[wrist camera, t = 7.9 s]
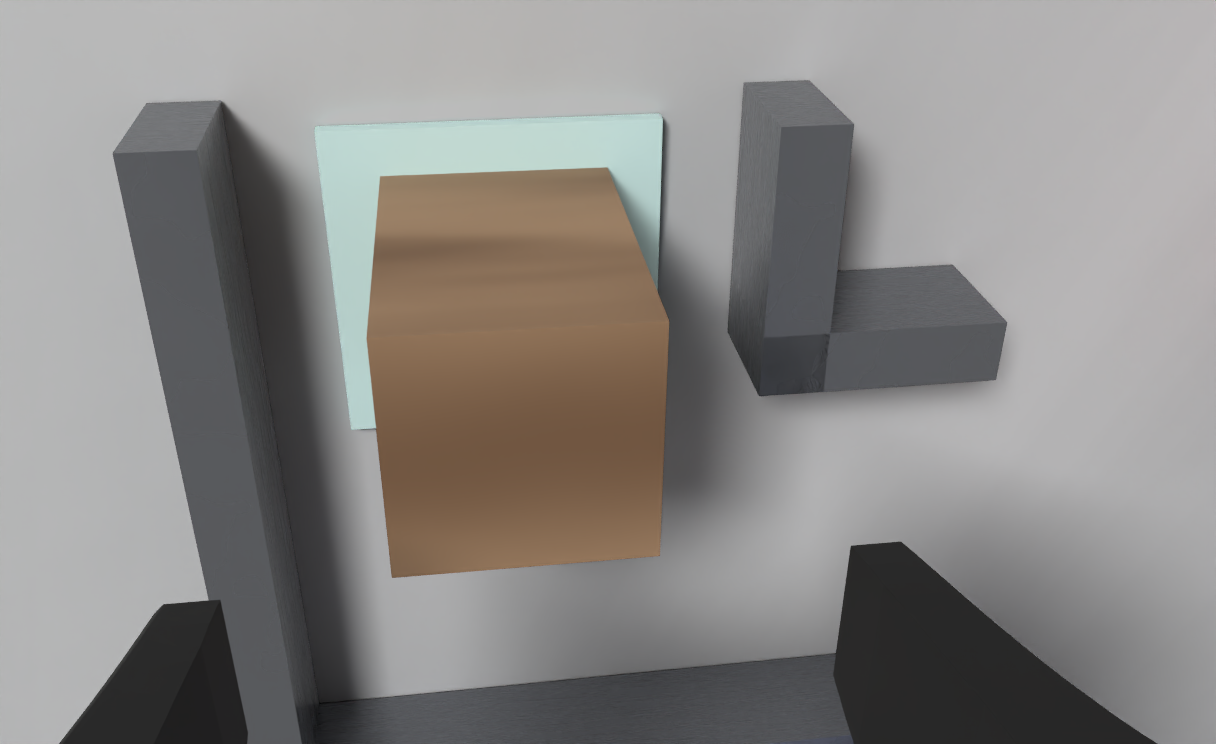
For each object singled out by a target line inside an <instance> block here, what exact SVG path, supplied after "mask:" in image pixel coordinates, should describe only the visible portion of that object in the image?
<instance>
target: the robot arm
mask: <svg viewBox="0 0 1216 744" xmlns="http://www.w3.org/2000/svg"><path fill="white" fill-rule="evenodd" d="M833 676H834V680H835V683H836V687H837V690H838V693H839V697H840V700H841V704H842V707H843V711H844V714H845V718H846V721H847V724H848V727H849V730H850V733H851V737H852V740H853V743H854V744H1157V743H1155V742H1154V741H1152V740H1151V739H1149V738H1147V737H1146V736H1144V735H1143V734H1141V733H1140V732H1138V731H1137V730H1135V729H1134V728H1132V727H1131V726H1129V725H1128V724H1126V723H1125V722H1123V721H1122V720H1120V719H1119V718H1118V717H1116V716H1115V715H1113V714H1112V713H1110V712H1109V711H1108V710H1106V709H1105V708H1103V707H1102V706H1101V705H1099V704H1098V703H1097V702H1095V701H1094V700H1093V699H1091V698H1090V697H1089V696H1087V695H1086V694H1084V693H1083V692H1082V691H1080V690H1079V689H1078V688H1076V687H1075V686H1074V685H1072V684H1071V683H1069V682H1068V681H1067V680H1065V679H1064V678H1063V677H1061V676H1060V675H1059V674H1058V673H1056V672H1055V671H1054V670H1052V669H1051V668H1050V667H1049V666H1047V665H1046V664H1045V663H1043V662H1042V661H1041V660H1040V659H1038V658H1037V657H1036V656H1035V655H1033V654H1032V653H1031V652H1030V651H1028V650H1027V649H1026V648H1025V647H1023V646H1022V645H1021V644H1020V643H1019V642H1017V641H1016V640H1015V639H1014V638H1013V637H1011V636H1010V635H1009V634H1008V633H1006V632H1005V631H1004V630H1003V629H1002V628H1000V627H999V626H998V625H997V624H996V623H995V622H993V621H992V620H991V619H990V618H989V617H987V616H986V615H985V614H984V613H983V612H982V611H980V610H979V609H978V608H977V607H976V606H975V605H973V604H972V603H971V602H970V601H969V600H968V599H967V598H965V597H964V596H963V595H962V594H961V593H960V592H958V591H957V590H956V589H955V588H954V587H953V586H952V585H950V584H949V583H948V582H947V581H946V580H945V579H944V578H942V577H941V576H940V575H939V574H938V573H937V572H936V571H934V570H933V569H932V568H931V567H930V566H929V565H928V564H926V563H925V562H924V561H923V560H922V559H921V558H920V557H918V556H917V555H916V554H915V553H914V552H913V551H911V550H910V549H909V548H908V547H907V546H905V545H904V544H903V543H902V542H891V543H879V544H867V545H856V546H851V549H850V556H849V564H848V571H847V578H846V585H845V592H844V600H843V607H842V614H841V621H840V628H839V636H838V643H837V650H836V657H835V665H834V672H833ZM247 740H248V730H247V725H246V720H245V715H244V711H243V706H242V701H241V696H240V691H239V687H238V682H237V677H236V672H235V667H234V663H233V658H232V653H231V648H230V643H229V639H228V634H227V629H226V624H225V619H224V615H223V610H222V605H221V600H210V601H199V602H187V603H175V604H163V605H162V606H161V607H160V608H159V609H158V610H157V612H156V613H155V614H154V615H153V616H152V618H151V619H150V621H149V622H148V624H147V625H146V626H145V628H144V629H143V631H142V632H141V634H140V635H139V637H138V638H137V639H136V641H135V642H134V644H133V645H132V647H131V648H130V649H129V651H128V652H127V654H126V655H125V657H124V658H123V659H122V661H121V662H120V664H119V665H118V666H117V668H116V669H115V671H114V672H113V673H112V675H111V676H110V677H109V679H108V680H107V682H106V683H105V684H104V686H103V687H102V688H101V690H100V691H99V692H98V694H97V695H96V697H95V698H94V699H93V701H92V702H91V703H90V705H89V706H88V707H87V708H86V710H85V711H84V712H83V714H82V715H81V716H80V717H79V719H78V720H77V721H76V723H75V724H74V725H73V727H72V728H71V729H70V730H69V732H68V733H67V734H66V736H65V737H64V738H63V739H62V741H61V742H60V743H59V744H247Z"/></svg>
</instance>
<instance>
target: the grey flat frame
mask: <svg viewBox="0 0 1216 744" xmlns="http://www.w3.org/2000/svg"><path fill="white" fill-rule="evenodd" d="M853 130H854V124H853V123H852V122H851V121H850V120H849V119H848V118H847V117H846V116H845V115H844V114H843V113H842V112H841V111H840V110H839V109H838V108H837V107H836V106H835V105H834V104H833V103H832V102H831V101H830V100H829V99H828V98H827V97H826V96H825V95H824V94H823V93H822V92H821V91H820V90H819V89H818V88H817V87H815V86H814V85H813V84H812V83H811V82H810V81H781V82H752V83H744V88H743V103H742V119H741V134H740V150H739V165H738V180H737V196H736V211H735V227H734V242H733V258H732V273H731V288H730V304H729V319H728V333H729V335H730V337H731V340H732V342H733V344H734V346H735V348H736V350H737V352H738V354H739V356H740V358H741V360H742V362H743V364H744V366H745V368H746V370H747V372H748V374H749V376H750V378H751V381H752V383H753V385H754V387H755V389H756V391H757V393H758V395H759V396H769V395H784V394H798V393H813V392H827V391H842V390H857V389H871V388H886V387H900V386H915V385H930V384H944V383H959V382H973V381H988V380H996V376H997V371H998V366H999V361H1000V356H1001V351H1002V346H1003V341H1004V336H1005V331H1006V326H1007V322H1006V321H1005V320H1004V318H1003V317H1002V316H1001V315H1000V314H999V313H998V312H997V311H996V310H995V309H994V308H993V307H992V306H991V305H990V304H989V303H988V302H987V301H986V299H985V298H984V297H983V296H982V295H981V294H980V293H979V292H978V291H977V290H976V289H975V288H974V287H973V286H972V285H971V284H970V283H969V281H968V280H967V279H966V278H965V277H964V276H963V275H962V274H961V273H960V272H959V271H958V270H957V269H956V268H955V267H954V266H953V265H939V266H921V267H903V268H885V269H867V270H849V271H837V269H838V261H839V252H840V243H841V234H842V226H843V217H844V208H845V200H846V191H847V182H848V173H849V165H850V156H851V147H852V138H853ZM113 157H114V162H115V167H116V171H117V176H118V181H119V185H120V190H121V194H122V199H123V204H124V208H125V213H126V218H127V222H128V227H129V232H130V236H131V241H132V246H133V250H134V255H135V260H136V264H137V269H138V273H139V278H140V283H141V287H142V292H143V297H144V301H145V306H146V311H147V315H148V320H149V325H150V329H151V334H152V339H153V343H154V348H155V352H156V357H157V362H158V366H159V371H160V376H161V380H162V385H163V390H164V394H165V399H166V404H167V408H168V413H169V418H170V422H171V427H172V431H173V436H174V441H175V445H176V450H177V455H178V459H179V464H180V469H181V473H182V478H183V483H184V487H185V492H186V497H187V501H188V506H189V510H190V515H191V520H192V524H193V529H194V534H195V538H196V543H197V548H198V552H199V557H200V562H201V566H202V571H203V575H204V580H205V585H206V589H207V594H208V599H209V601H210V600H221V605H222V610H223V615H224V619H225V624H226V629H227V634H228V639H229V643H230V648H231V653H232V658H233V663H234V667H235V672H236V677H237V682H238V687H239V691H240V696H241V701H242V706H243V711H244V715H245V720H246V725H247V730H248V740H247V744H854V743H853V740H852V737H851V733H850V730H849V727H848V724H847V721H846V718H845V714H844V711H843V707H842V704H841V700H840V697H839V693H838V690H837V687H836V683H835V680H834V676H833V672H834V665H835V657H836V654H830V655H819V656H809V657H799V658H789V659H778V660H768V661H758V662H747V663H737V664H727V665H717V666H706V667H696V668H686V669H676V670H665V671H655V672H645V673H634V674H624V675H614V676H604V677H593V678H583V679H573V680H563V681H552V682H542V683H532V684H521V685H511V686H501V687H491V688H480V689H470V690H460V691H449V692H439V693H429V694H419V695H408V696H398V697H388V698H378V699H367V700H357V701H347V702H336V703H326V704H319V700H318V693H317V687H316V681H315V675H314V669H313V663H312V657H311V650H310V644H309V638H308V632H307V626H306V620H305V614H304V608H303V601H302V595H301V589H300V583H299V577H298V571H297V565H296V558H295V552H294V546H293V540H292V534H291V528H290V522H289V516H288V509H287V503H286V497H285V491H284V485H283V479H282V473H281V466H280V460H279V454H278V448H277V442H276V436H275V430H274V424H273V417H272V411H271V405H270V399H269V393H268V387H267V381H266V374H265V368H264V362H263V356H262V350H261V344H260V338H259V331H258V325H257V319H256V313H255V307H254V301H253V295H252V289H251V282H250V276H249V270H248V264H247V258H246V252H245V246H244V239H243V233H242V227H241V221H240V215H239V209H238V203H237V197H236V190H235V184H234V178H233V172H232V166H231V160H230V154H229V147H228V141H227V135H226V129H225V123H224V117H223V111H222V105H221V101H198V102H169V103H146V105H145V106H144V108H143V109H142V111H141V112H140V114H139V115H138V117H137V118H136V120H135V121H134V123H133V124H132V126H131V127H130V129H129V130H128V131H127V133H126V134H125V136H124V137H123V139H122V140H121V142H120V143H119V145H118V146H117V148H116V149H115V151H114V152H113Z"/></svg>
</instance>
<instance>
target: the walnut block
mask: <svg viewBox="0 0 1216 744" xmlns="http://www.w3.org/2000/svg"><path fill="white" fill-rule="evenodd" d="M366 339H367V348H368V358H369V367H370V376H371V386H372V395H373V405H374V414H375V423H376V433H377V442H378V452H379V461H380V471H381V480H382V489H383V499H384V508H385V518H386V527H387V537H388V546H389V555H390V565H391V574H392V578H396V577H408V576H421V575H433V574H445V573H457V572H470V571H482V570H494V569H506V568H519V567H531V566H543V565H555V564H567V563H580V562H592V561H604V560H616V559H629V558H641V557H653V556H660V537H661V513H662V488H663V464H664V440H665V415H666V391H667V366H668V342H669V319H668V317H667V314H666V312H665V309H664V307H663V304H662V302H661V299H660V297H659V294H658V292H657V289H656V287H655V284H654V282H653V279H652V277H651V274H650V272H649V269H648V267H647V264H646V262H645V259H644V257H643V254H642V252H641V249H640V247H639V244H638V242H637V239H636V237H635V235H634V232H633V230H632V227H631V225H630V222H629V220H628V217H627V215H626V212H625V210H624V207H623V205H622V202H621V200H620V197H619V195H618V192H617V190H616V187H615V185H614V182H613V180H612V177H611V175H610V172H609V170H608V167H604V168H578V169H552V170H526V171H501V172H475V173H449V174H424V175H398V176H380V183H379V194H378V206H377V218H376V230H375V242H374V254H373V266H372V278H371V290H370V302H369V314H368V325H367V337H366Z"/></svg>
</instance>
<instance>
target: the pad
mask: <svg viewBox="0 0 1216 744" xmlns="http://www.w3.org/2000/svg"><path fill="white" fill-rule="evenodd" d="M662 129H663V118H662V116H661V115H660V113H657V114H631V115H604V116H577V117H550V118H523V119H497V120H470V121H443V122H416V123H390V124H363V125H336V126H316V127H315V131H314V134H315V142H316V150H317V158H318V166H319V174H320V182H321V190H322V198H323V206H324V214H325V222H326V230H327V238H328V246H329V255H330V263H331V271H332V279H333V287H334V295H335V303H336V311H337V319H338V327H339V335H340V343H341V351H342V359H343V368H344V376H345V384H346V392H347V400H348V408H349V416H350V424H351V430H356V429H370V428H376V423H375V414H374V405H373V395H372V386H371V376H370V367H369V358H368V348H367V339H366V337H367V325H368V314H369V302H370V290H371V278H372V266H373V254H374V242H375V230H376V218H377V206H378V194H379V183H380V176H398V175H424V174H449V173H475V172H501V171H526V170H552V169H578V168H604V167H608V170H609V172H610V175H611V177H612V180H613V182H614V185H615V187H616V190H617V192H618V195H619V197H620V200H621V202H622V205H623V207H624V210H625V212H626V215H627V217H628V220H629V222H630V225H631V227H632V230H633V232H634V235H635V237H636V239H637V242H638V244H639V247H640V249H641V252H642V254H643V257H644V259H645V262H646V264H647V267H648V269H649V272H650V274H651V277H652V279H653V282H654V284H655V287H656V289H657V292H658V262H659V229H660V196H661V163H662Z"/></svg>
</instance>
